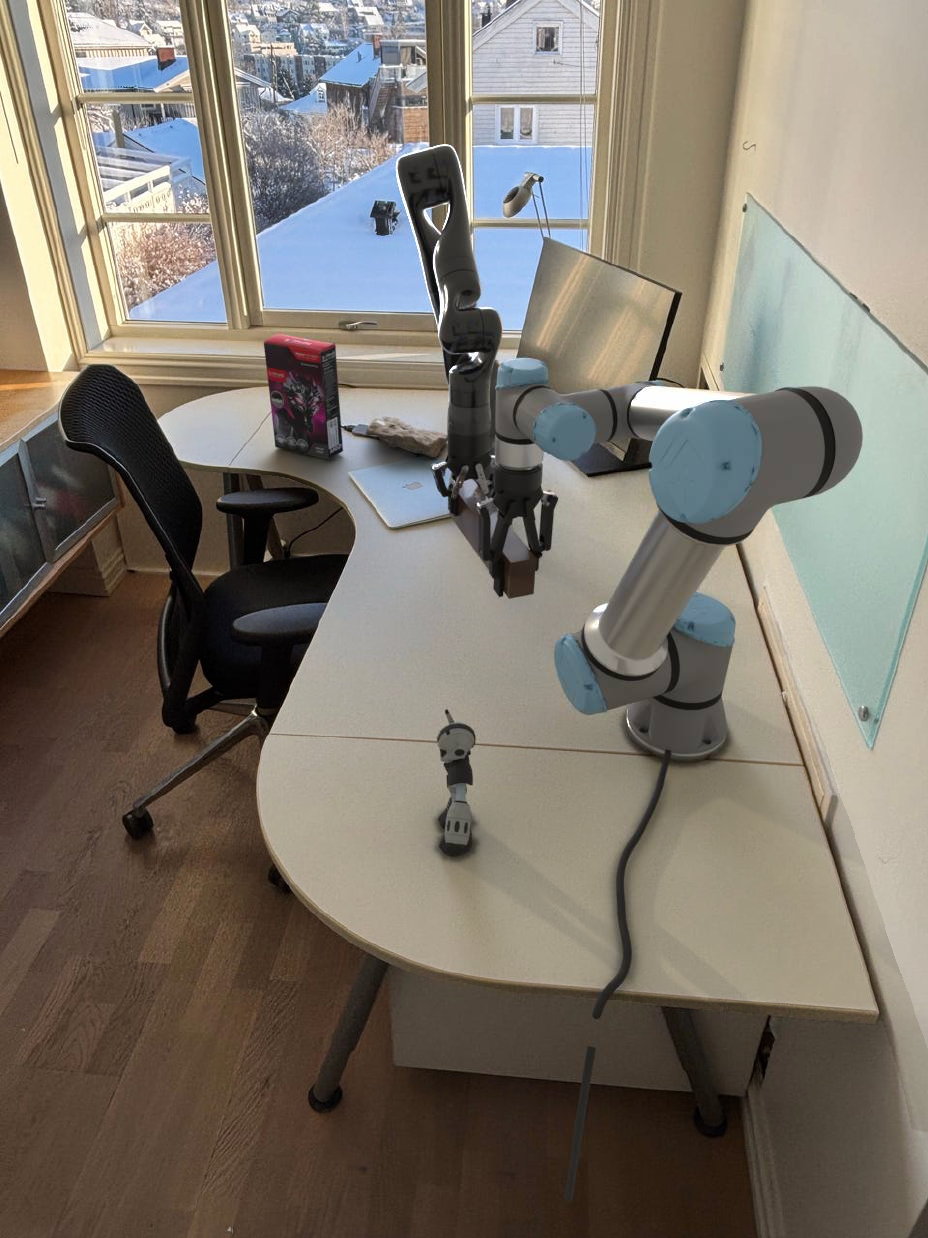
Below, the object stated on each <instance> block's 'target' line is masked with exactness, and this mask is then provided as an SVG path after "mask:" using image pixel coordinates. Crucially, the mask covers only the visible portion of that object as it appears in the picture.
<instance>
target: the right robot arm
mask: <svg viewBox="0 0 928 1238" xmlns="http://www.w3.org/2000/svg"><path fill="white" fill-rule="evenodd" d="M500 363H501V364H500V366H499V368H498V374H497V386H496V387H495V390H496V426H495V429H496V431H495V460H496V461H495V463H494V490H493V492H492V494H491V498H489V499H487V500H485V501H483V502H482V501H480V500H478V501H476V502H475V506H476V509H477V511H478V553H479V554H480V556H481V557H482V559H483V560H484V561H488V560H489V570H488V574H489V575H490V577H491V579H493V588H492V589H493V591H494V592H495V594H496V596H497V597H498V598H502V597H504V564H505V562H504V561H503V560H502V558H501V555H502V552H503V548H504V544H505V541H506V537H507V534H508V530H509V526H511V527H512V525H513V520H514V519H517V518H522V522H523V526H524V532H525V536H526V542H527V547H528V548H529V550H530V551H531V552H532V553H533V555H534V556H535V557H536V570H535V572H538V571H539V568H540V559H541V558H542V557H543V556H544V553H543V552H549V551H551V549H552V541H553V529H554V516H555V510H556V509H555V508H556V506H557V504H558V501H559V497H558V496H557V495H556V493H555V492H553V490H551V489H548V490H546V491H545V490H544V489H543V488H542V484H543V469H544V467H543V466H544V465H543V463H542V462H544V456H545V455H544V453H546V454H548V455H551V456H552V457H554V458H556V459H557V460H560V461H564V462H565V461H566V462H570V461H575V460H577V459H579V458H580V457H581V456H582V455H584V454H586V453H587V452H589V450H590V449H591V448H592V446H593V445H595V444H601V443H607V442H610V441H611V442H612V441H617V440H624V439H636V440H643V441H650V442H652V444H651V447H650V452H649V455H648V462H649V463H651V469H649V470H648V472H647V473H648V482H649V485H650V490H651V493H652V496H653V498H654V500H655V504H656V506H657V509H658V510H657V511H656V513H655V515H654V517H653V519H652V521H651V522H650V525H649V526H648V528H647V531H646V532H645V534H644V536H643V538H642V540H640V541H641V542H640V543H639V546H638V547H637V549H636V551H635V553H634V554H633V556H632V558H631V560H630V562H629V564H628V566H627V568H626V570H625V571H624V573H623V575H622V577H621V579H620V581H619V583H617V586H616V588H615V590H614V592H613V594H612V595H611V598H610V599H609V602H606V603H604V604H601V605H599V606H597V607H596V608H595V609H594V610H592V612H591V613H590V614H589V615H588V617H587V618H586V620H585V622H584V624H583V626H582V628H581V629H580V630H579V631H577V632H574V633H571V632H568V633H566V634H564V635H562V636H560V637H559V638H557V640H556V641H555V643H554V648H553V659H554V667H555V670H556V674H557V677H558V680H559V683H560V686H561V688H562V690H563V692H564V695H565V696H566V698H567V700H568V701H569V703H570V704H571V705H572V707H573V708H574V709H575V710H577V711H578V713H581V714H582V715H586V716H592V715H598V714H606V713H607V712H608V711H612V710H614V709H618V708H621V707H625V706H628V705H629V706H628V708H627V711H626V719H625V728H626V732H627V734H628V736H629V738H630V739H631V741H632V742H634V744H636V745H637V746H638V747H639V748H640V749H641V750H643V751H645V752H646V753H648V754H650V755H651V756H654V757H656V758H659V759H662V761H661V765H660V768H659V772H658V777H657V780H656V785H655V789H654V791H653V793H652V797H651V799H650V802H649V804H648V806H647V808H646V810H645V812H644V815H643V816H642V818H641V821H640V822H639V824H638V827H637V828H636V830H635V832H634V833H633V835H632V836H631V838H630V840H629V841H628V842H627V844H626V846H625V847H624V849H623V851H622V853H621V856H620V858H619V861H618V864H617V868H616V869H617V870H616V875H615V876H616V878H615V892H616V907H617V908H616V909H617V922H618V929H619V933H620V938H621V943H622V962H621V966H620V968H619V971H618V972H617V974H616V975H615V976H614V977H613V978H612V979H611V981H610V982H608V984H607V985H605V987H604V988H603V989H602V991H601V992H600V994H599V995H598V997H597V999H596V1002H595V1003H594V1004H595V1005H594V1007H593V1010H592V1013H591V1016H592V1018H593V1019H594V1020H599V1019H600V1018H601V1016H602V1014H603V1011H604V1009H605V1006H606V1004H607V1002H608V1000H609V999H610V997H611V996H612V995H613V994H614V992H615V991H616V990H617V989H618V988H620V986H621V985H622V983H623V982H624V981H625V980H626V979H627V976H628V975H629V974H628V973H629V971H630V969H631V963H632V956H633V955H632V951H633V949H632V943H631V942H632V941H631V937H630V931H629V927H628V921H627V911H626V909H627V908H626V898H625V897H626V896H625V894H626V893H625V872H626V867H627V864H628V860H629V859H630V855H631V854H632V852H633V851H634V849H635V847H636V845H637V844H638V843H639V841H640V840H641V838H642V836H643V834H644V833H645V830H646V829H647V826H648V825H649V824H650V823H649V822H650V821H651V818H652V817H653V815H654V812H655V810H656V808H657V806H658V803H659V800H660V798H661V795H662V792H663V788H664V785H665V781H666V778H667V777H666V776H667V773H668V768H669V764H670V762H675V763H694V762H700V761H703V760H706V759H709V758H711V757H714V755H716V754H718V752H720V751H721V750H722V748H723V747H724V744H725V743H726V740H727V739H726V738H727V734H728V721H727V716H726V712H725V708H724V707H725V706H724V701H723V692H724V686H725V682H726V678H727V674H728V669H729V664H730V661H731V655H732V652H733V647H734V644H735V642H736V641H735V640H736V637H735V632H736V627H737V626H736V617H735V616H734V614H733V612H732V611H731V609H730V608H729V607H728V606H727V605H726V604H724V603H723V602H722V601H720V600H719V599H717V598H715V597H712V596H710V595H708V594H705V593H702V592H698V589H699V587H700V586H701V585H702V583H703V581H704V580H705V579H706V577H707V576H708V574H709V572H710V571H711V570H712V568H713V566H714V565H715V564H716V562H717V560H718V559H719V558H720V556H721V554H722V553H723V551H724V550H725V549H726V547H730V546H731V547H732V546H735V545H737V544H740V543H742V542H744V541H745V540H746V539H747V538H748V537H750V536H751V535H752V533H753V532H754V530H755V529H756V527H757V526H758V525H759V523H760V522H761V521H762V519H763V517H764V516H765V514H766V513H767V512H768V511H769V510H770V509H772V507H774V506H777V505H781V504H785V503H791V502H794V501H799V500H802V499H807V498H810V497H814V496H818V495H821V494H823V493H826V492H827V491H829V490H831V489H833V488H835V487H836V486H837V485H838V484H840V483H841V482H842V481H843V480H845V479H846V478H847V476H848V475H849V474H850V472H851V471H852V470H853V469H854V467H855V465H856V463H857V461H858V460H859V458H860V454H861V450H862V447H863V439H864V438H863V437H864V436H863V435H864V434H863V425H862V422H861V420H860V417H859V414H858V413H857V410H856V408H855V407H854V406H853V404H852V403H851V402H850V401H849V400H848V399H847V398H846V397H845V396H843V395H841V394H840V393H839V392H837V391H834V390H833V389H830V388H826V387H822V386H813V385H812V386H808V385H807V386H797V387H795V386H793V387H792V386H784V387H779V388H776V389H774V390H771V391H769V392H763V393H753V392H752V393H750V392H737V391H727V390H725V391H724V390H712V389H701V388H700V389H699V388H687V387H675V386H674V387H673V386H667V384H666V383H665V382H663V381H660V380H641V381H640V380H639V381H636V382H634V383H628V384H623V385H617V386H612V387H606V388H597V389H596V388H595V389H590V390H584V391H577V392H572V393H566V394H561V393H558V392H557V391H555V390H554V389H553V388H551V387H549V382H550V378H549V368H548V365H547V364H546V362H544V361H542V360H540V359H536V358H530V357H515V358H509V359H506V360H504V361H502V362H500ZM539 503H541V504H540V517H539V518H540V519H539V531H538V530H537V525H536V515H535V508H536V507H537V506H538V505H539ZM493 506H495V507H496V509H497V510H498V513H497V522H496V526H495V530H494V534H493V537H492V541H491V545H490V534H491V519H490V515H491V514H492V507H493ZM596 1052H597V1047H595V1046H590V1045H587V1047H586V1053H585V1059H584V1063H583V1064H584V1065H583V1069H582V1077H581V1082H580V1090H579V1096H578V1102H577V1107H576V1109H577V1110H576V1116H575V1122H574V1129H573V1136H572V1143H571V1150H570V1151H571V1152H570V1158H569V1166H568V1172H567V1178H566V1179H567V1180H566V1186H565V1193H564V1202H565V1203H566V1204H568V1205H569V1204H572V1202H573V1198H574V1197H573V1196H574V1191H575V1184H576V1179H577V1178H576V1177H577V1170H578V1164H579V1157H580V1150H581V1145H582V1138H583V1132H584V1124H585V1118H586V1110H587V1107H588V1106H587V1105H588V1099H589V1093H590V1087H591V1080H592V1075H593V1069H594V1063H595V1056H596Z"/></svg>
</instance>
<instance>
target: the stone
mask: <svg viewBox="0 0 928 1238" xmlns="http://www.w3.org/2000/svg"><path fill="white" fill-rule="evenodd" d="M365 435H366V436H368V437H370V436H376V437H378V439H379V440H380V441H383V442H387V443H388V446H390V447H392V448H397V447H399V448H401V449H403V450H406V451H409V452H411V453H413V454H419V455H420V454H422V455H425V456H427V457H431V458H436V457H438V456H439V454H440V452H441V450H442V448H443V447H444V446H445V445H447V434H445V433H443V432H440V431H437V430H428V429H424V428H416V427H413V426H411V424H406V423H405V422H404V421H402V420H399V418H396V417H391V416H383V417H375V418H374V419H371V422H369V424H368V426H367V428H366V430H365Z"/></svg>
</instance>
